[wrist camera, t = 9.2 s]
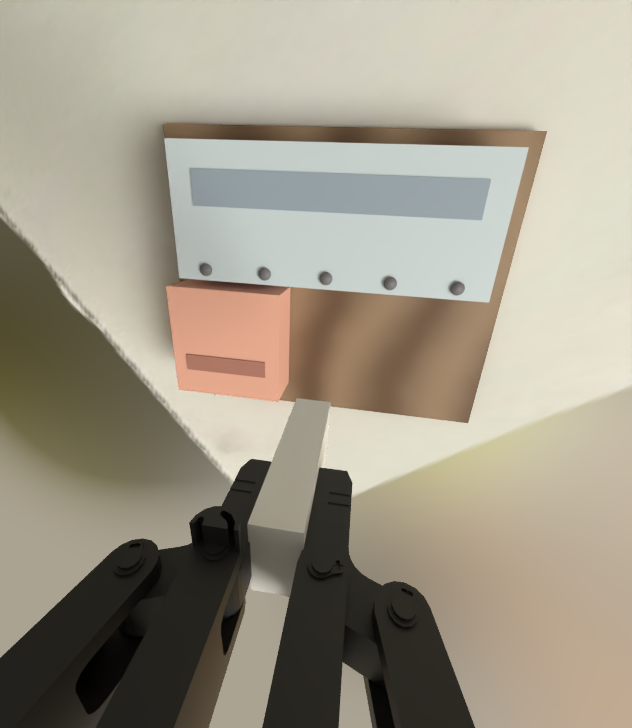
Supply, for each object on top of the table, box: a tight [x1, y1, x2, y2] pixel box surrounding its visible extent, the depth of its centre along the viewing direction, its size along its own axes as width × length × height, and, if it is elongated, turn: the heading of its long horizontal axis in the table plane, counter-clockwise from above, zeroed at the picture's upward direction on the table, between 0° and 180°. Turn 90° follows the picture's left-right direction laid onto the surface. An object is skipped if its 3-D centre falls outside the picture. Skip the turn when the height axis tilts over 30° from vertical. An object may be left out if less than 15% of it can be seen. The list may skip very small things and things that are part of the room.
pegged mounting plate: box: [164, 138, 529, 303], centre depth 21 cm, size 20×8×4 cm, turn 87°
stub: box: [166, 279, 291, 402], centre depth 25 cm, size 8×8×4 cm
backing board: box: [163, 124, 547, 423], centre depth 25 cm, size 24×20×1 cm
